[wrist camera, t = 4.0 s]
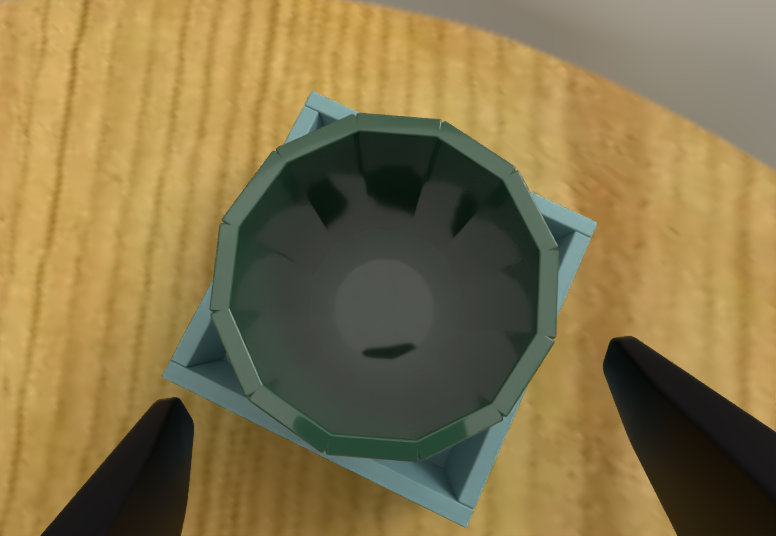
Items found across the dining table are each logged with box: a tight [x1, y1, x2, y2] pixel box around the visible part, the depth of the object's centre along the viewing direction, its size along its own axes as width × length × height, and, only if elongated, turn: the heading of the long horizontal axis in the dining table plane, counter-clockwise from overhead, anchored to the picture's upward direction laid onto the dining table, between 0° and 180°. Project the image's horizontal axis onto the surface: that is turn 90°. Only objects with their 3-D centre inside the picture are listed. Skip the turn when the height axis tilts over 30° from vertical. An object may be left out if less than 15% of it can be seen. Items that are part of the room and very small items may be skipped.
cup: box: [209, 113, 559, 462], centre depth 14 cm, size 7×7×10 cm
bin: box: [162, 91, 597, 528], centre depth 17 cm, size 11×11×4 cm
